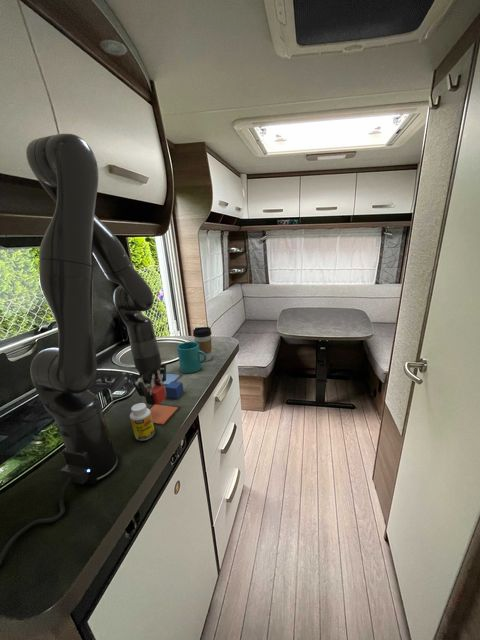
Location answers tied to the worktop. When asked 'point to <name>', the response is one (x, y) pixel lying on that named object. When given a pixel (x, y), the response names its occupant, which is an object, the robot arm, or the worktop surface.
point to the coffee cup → (203, 341)
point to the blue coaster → (170, 378)
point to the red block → (158, 394)
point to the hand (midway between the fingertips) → (156, 399)
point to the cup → (190, 357)
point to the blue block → (174, 390)
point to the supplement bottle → (142, 422)
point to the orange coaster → (161, 413)
